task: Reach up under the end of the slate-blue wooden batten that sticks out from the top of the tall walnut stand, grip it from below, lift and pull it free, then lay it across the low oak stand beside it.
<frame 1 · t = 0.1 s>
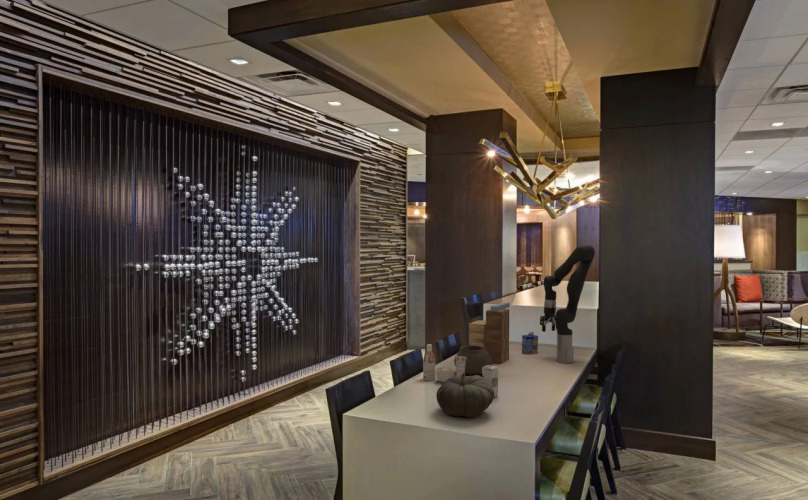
hand: (548, 331, 350), 17 cm above the table, fingers open, 8 cm apart
walnut stand: (497, 360, 340), on the table
oak stand: (481, 355, 355), on the table
clay pot: (472, 374, 305), on the table
ink cartridge box: (529, 353, 364), on the table
gourd: (465, 413, 234), on the table
white carton: (489, 396, 260), on the table
batten: (500, 309, 344), point 32 cm above the table, touching walnut stand
cosmetic set: (444, 381, 288), on the table
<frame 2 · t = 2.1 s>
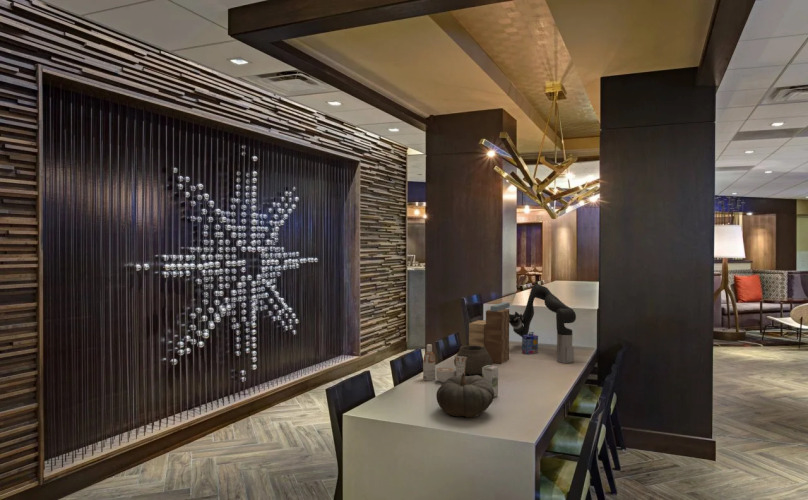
hand: (509, 312, 361), 28 cm above the table, fingers open, 8 cm apart
nothing on the table moved.
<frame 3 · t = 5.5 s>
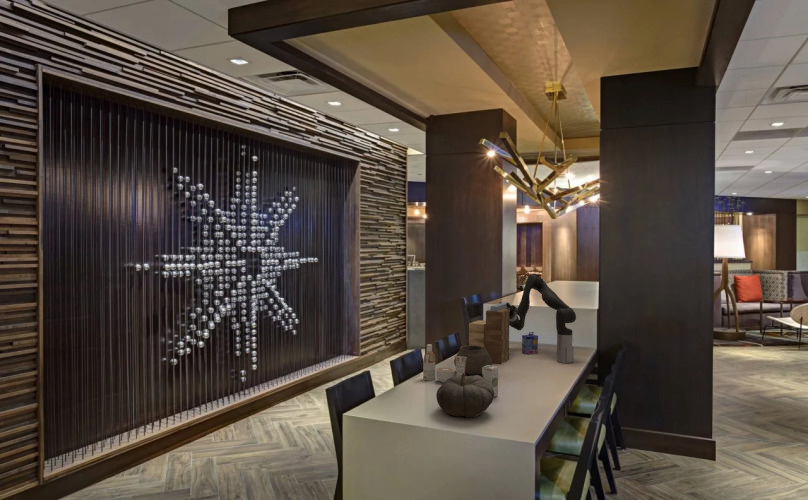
hand: (503, 303, 350), 35 cm above the table, fingers closed on batten, 4 cm apart
batten: (500, 309, 344), point 32 cm above the table, touching gripper, walnut stand
everything else where it was.
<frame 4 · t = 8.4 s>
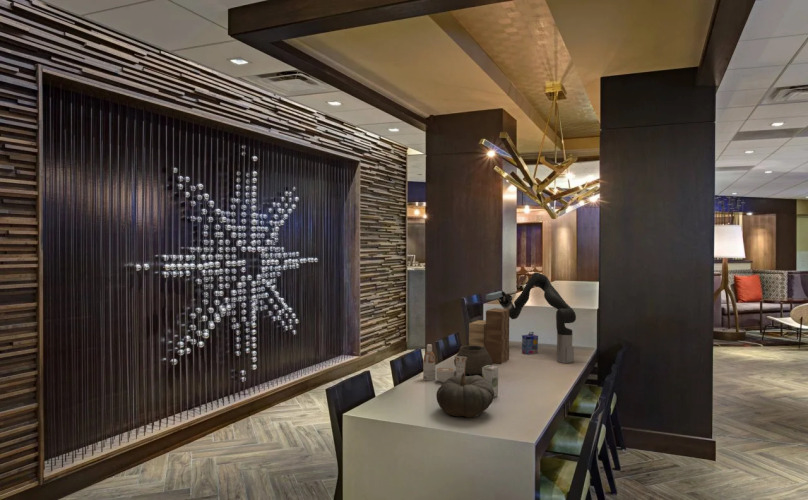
hand: (499, 292, 362), 41 cm above the table, fingers closed on batten, 4 cm apart
batten: (495, 297, 357), point 38 cm above the table, touching gripper
everything else where it was.
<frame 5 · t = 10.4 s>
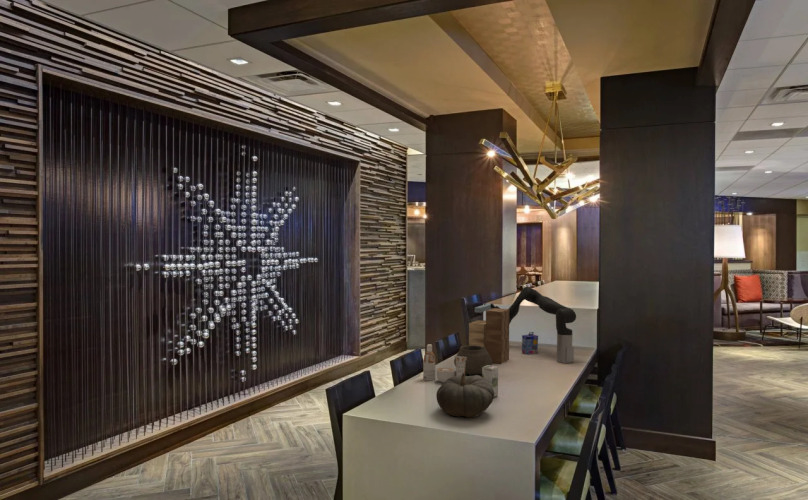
hand: (488, 304, 366), 32 cm above the table, fingers closed on batten, 4 cm apart
batten: (484, 310, 360), point 29 cm above the table, touching gripper
everything else where it was.
when the fingers open (26 cm above the table, at t = 11.7 s): batten drops 1 cm, resting on oak stand.
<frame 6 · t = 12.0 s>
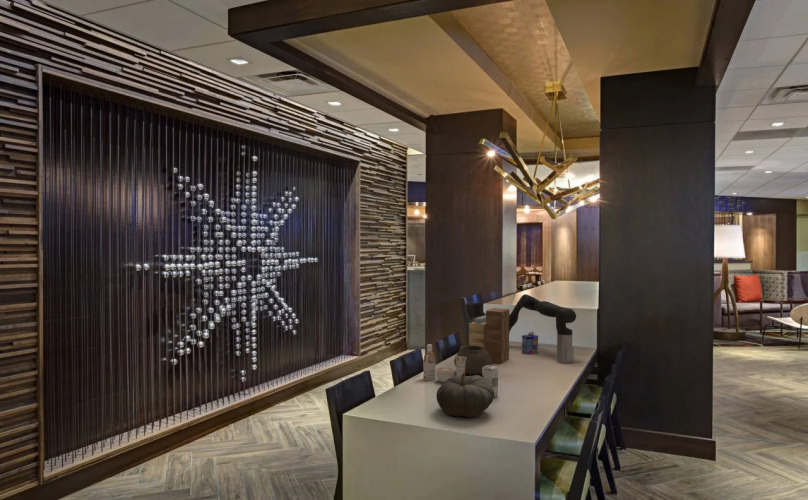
hand: (488, 313, 366), 26 cm above the table, fingers open, 6 cm apart
batten: (484, 321, 360), point 22 cm above the table, touching oak stand
everything else where it was.
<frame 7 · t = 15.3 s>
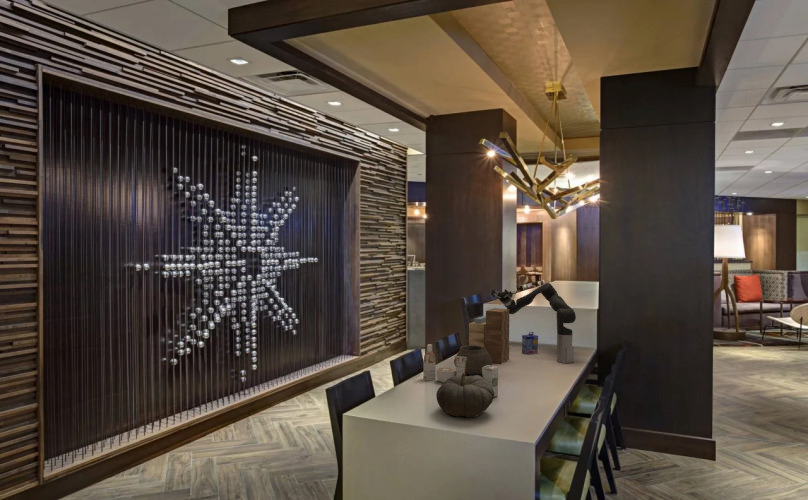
hand: (498, 290, 371), 42 cm above the table, fingers open, 8 cm apart
nothing on the table moved.
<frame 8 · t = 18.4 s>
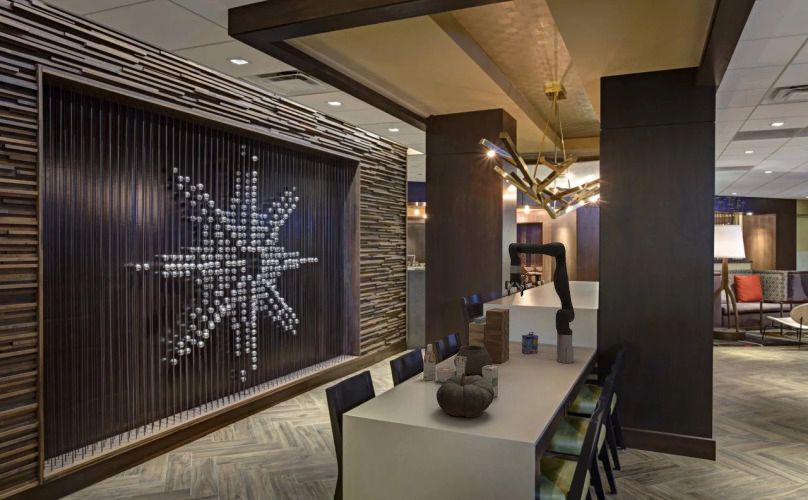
hand: (515, 296, 368), 38 cm above the table, fingers open, 8 cm apart
nothing on the table moved.
at the end: batten inside the target area on the oak stand (0.2 cm from its centre), point 22.0 cm above the oak stand's base; the gripper is holding nothing; batten tilted 0° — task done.
